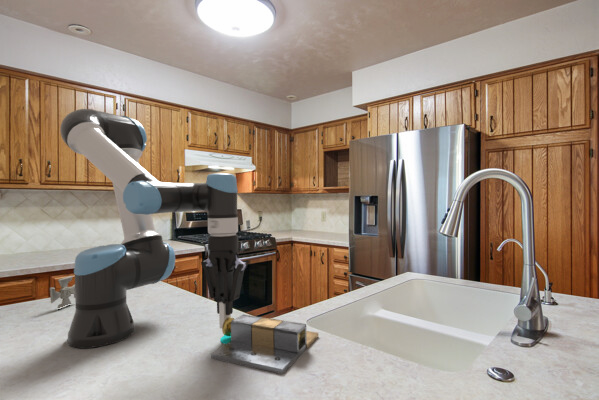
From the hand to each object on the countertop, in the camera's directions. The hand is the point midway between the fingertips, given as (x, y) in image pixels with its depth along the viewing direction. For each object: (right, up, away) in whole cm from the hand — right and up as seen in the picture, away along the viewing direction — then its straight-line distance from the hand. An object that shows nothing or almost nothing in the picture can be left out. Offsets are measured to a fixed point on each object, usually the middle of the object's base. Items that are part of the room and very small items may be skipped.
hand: (225, 326), depth 87 cm
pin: (+10, -2, -4) cm, 11 cm away
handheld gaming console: (+7, -4, 0) cm, 8 cm away
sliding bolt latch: (+11, -3, -5) cm, 13 cm away
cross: (-60, -4, +28) cm, 66 cm away
